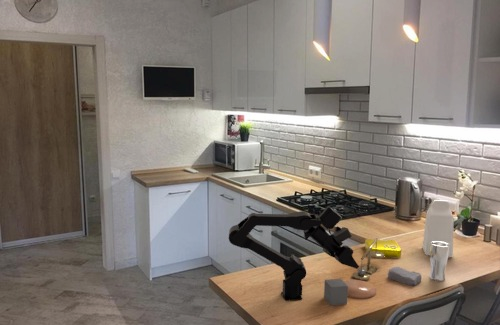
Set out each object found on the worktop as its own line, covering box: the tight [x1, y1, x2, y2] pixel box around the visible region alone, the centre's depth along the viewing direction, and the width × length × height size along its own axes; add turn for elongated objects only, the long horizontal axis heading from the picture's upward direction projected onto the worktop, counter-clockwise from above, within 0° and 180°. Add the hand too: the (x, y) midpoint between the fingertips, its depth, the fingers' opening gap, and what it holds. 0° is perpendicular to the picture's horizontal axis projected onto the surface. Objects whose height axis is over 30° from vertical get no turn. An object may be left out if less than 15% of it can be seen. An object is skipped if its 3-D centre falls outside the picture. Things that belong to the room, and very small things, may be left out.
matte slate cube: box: [323, 278, 348, 306], centre depth 160 cm, size 6×6×7 cm
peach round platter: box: [343, 279, 377, 299], centre depth 170 cm, size 14×14×1 cm
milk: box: [422, 199, 454, 258], centre depth 211 cm, size 12×12×26 cm
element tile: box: [364, 238, 402, 258], centre depth 212 cm, size 15×15×5 cm
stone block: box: [387, 266, 422, 287], centre depth 181 cm, size 12×5×10 cm
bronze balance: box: [352, 238, 385, 281], centre depth 188 cm, size 25×7×12 cm, turn 145°
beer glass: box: [428, 241, 449, 282], centre depth 181 cm, size 7×7×15 cm
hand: (353, 264), depth 162 cm, fingers open, 9 cm apart
